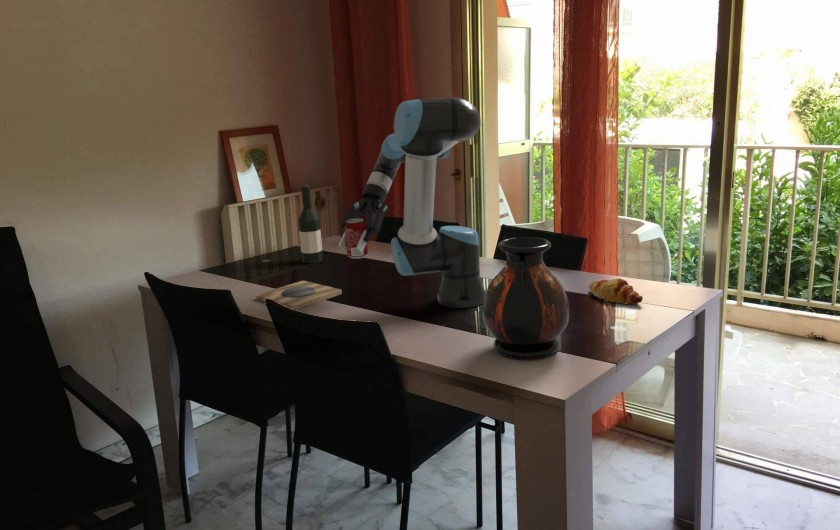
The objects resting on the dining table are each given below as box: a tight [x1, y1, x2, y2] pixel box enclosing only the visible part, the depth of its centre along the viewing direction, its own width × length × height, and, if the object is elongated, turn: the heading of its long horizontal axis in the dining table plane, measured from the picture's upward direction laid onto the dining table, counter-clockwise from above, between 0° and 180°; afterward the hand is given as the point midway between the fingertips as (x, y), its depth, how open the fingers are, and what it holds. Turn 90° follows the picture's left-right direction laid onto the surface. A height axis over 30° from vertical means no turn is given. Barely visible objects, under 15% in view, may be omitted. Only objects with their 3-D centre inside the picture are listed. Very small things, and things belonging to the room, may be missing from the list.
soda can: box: [345, 218, 369, 260], centre depth 233 cm, size 7×7×12 cm
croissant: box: [588, 277, 644, 305], centre depth 220 cm, size 21×10×8 cm, turn 32°
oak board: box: [255, 280, 343, 310], centre depth 240 cm, size 20×20×2 cm
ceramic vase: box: [481, 236, 570, 361], centre depth 182 cm, size 22×22×28 cm
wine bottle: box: [297, 184, 324, 265], centre depth 282 cm, size 8×8×30 cm
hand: (350, 248), depth 230 cm, fingers closed on soda can, 7 cm apart
